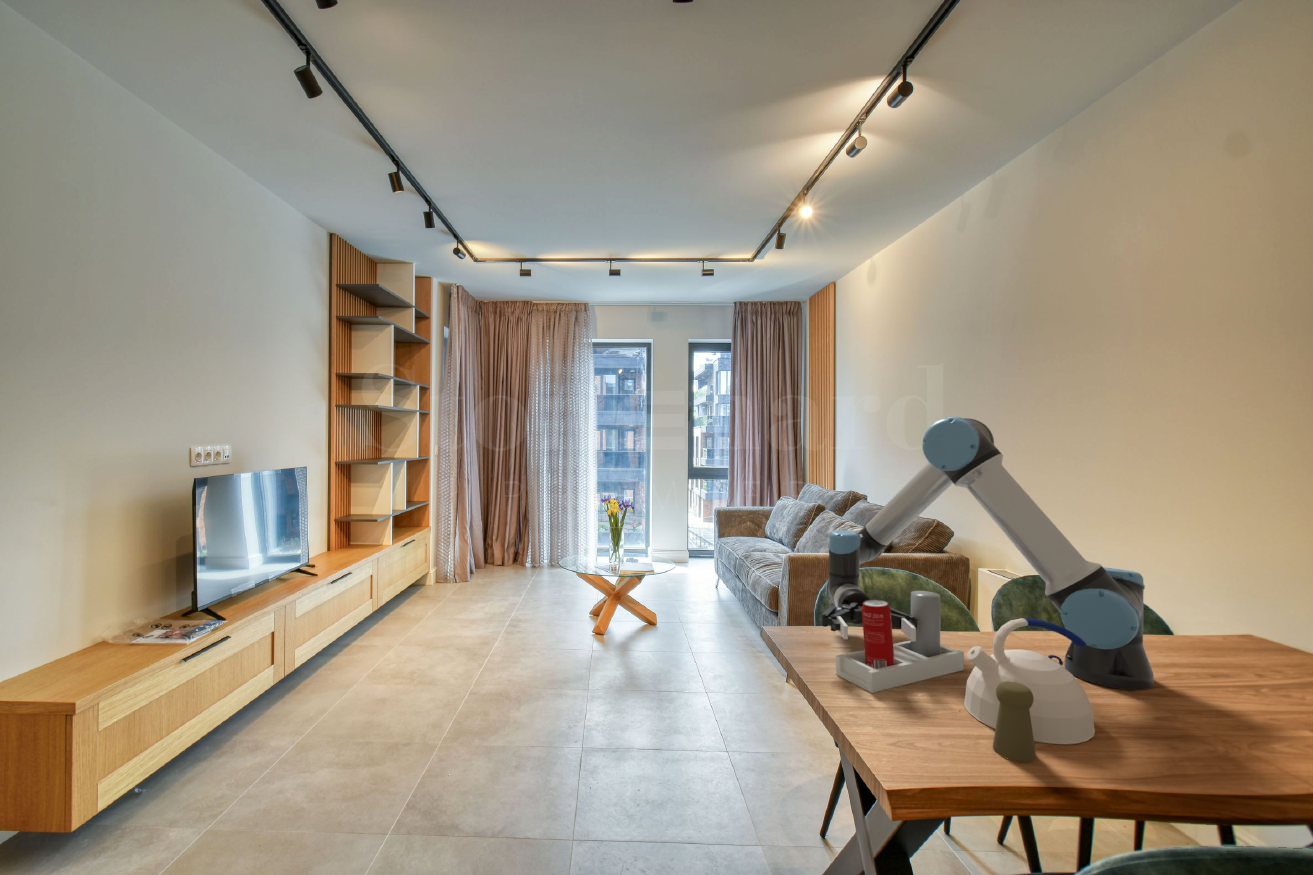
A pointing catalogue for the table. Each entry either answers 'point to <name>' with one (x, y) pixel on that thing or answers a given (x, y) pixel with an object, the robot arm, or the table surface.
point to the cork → (1014, 723)
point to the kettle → (1031, 687)
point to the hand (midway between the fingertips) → (879, 633)
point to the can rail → (907, 653)
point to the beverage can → (877, 634)
